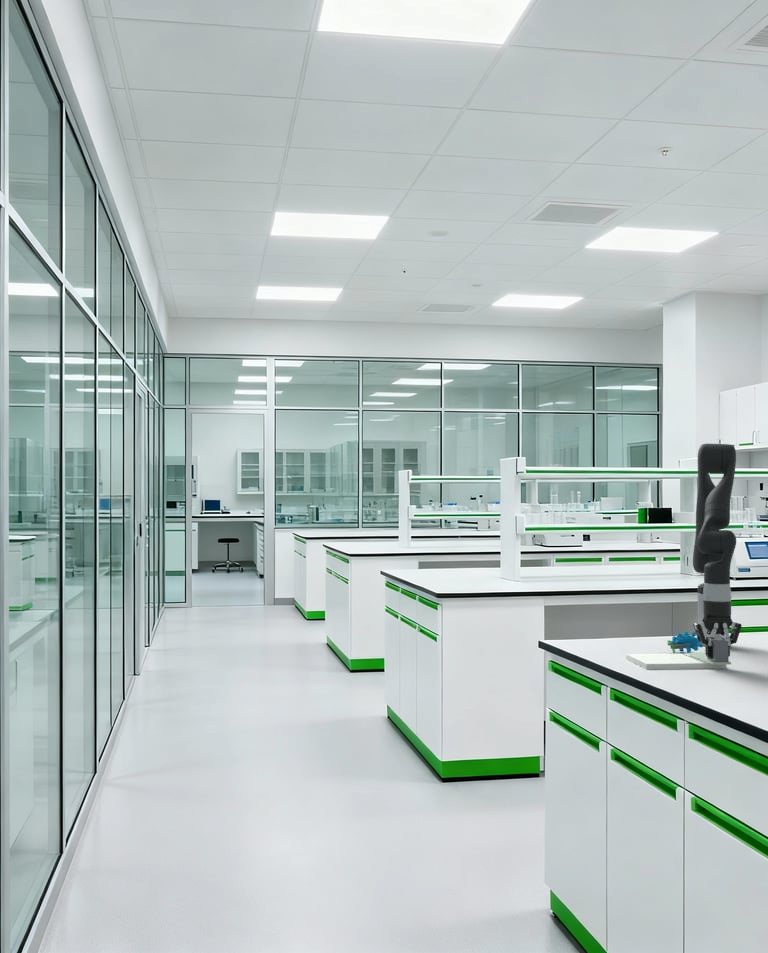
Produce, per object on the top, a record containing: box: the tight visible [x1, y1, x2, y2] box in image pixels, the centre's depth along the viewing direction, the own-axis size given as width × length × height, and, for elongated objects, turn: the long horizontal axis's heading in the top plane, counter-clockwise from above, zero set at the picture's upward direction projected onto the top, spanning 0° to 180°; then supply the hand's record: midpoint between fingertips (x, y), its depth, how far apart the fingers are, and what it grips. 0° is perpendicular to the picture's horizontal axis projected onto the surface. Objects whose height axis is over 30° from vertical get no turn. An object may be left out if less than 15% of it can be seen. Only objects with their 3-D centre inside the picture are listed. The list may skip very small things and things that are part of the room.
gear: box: [667, 630, 704, 654], centre depth 273 cm, size 11×6×10 cm
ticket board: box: [625, 652, 727, 670], centre depth 257 cm, size 16×24×2 cm, turn 95°
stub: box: [688, 639, 732, 665], centre depth 255 cm, size 16×5×7 cm, turn 5°
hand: (717, 658), depth 249 cm, fingers closed on stub, 4 cm apart
